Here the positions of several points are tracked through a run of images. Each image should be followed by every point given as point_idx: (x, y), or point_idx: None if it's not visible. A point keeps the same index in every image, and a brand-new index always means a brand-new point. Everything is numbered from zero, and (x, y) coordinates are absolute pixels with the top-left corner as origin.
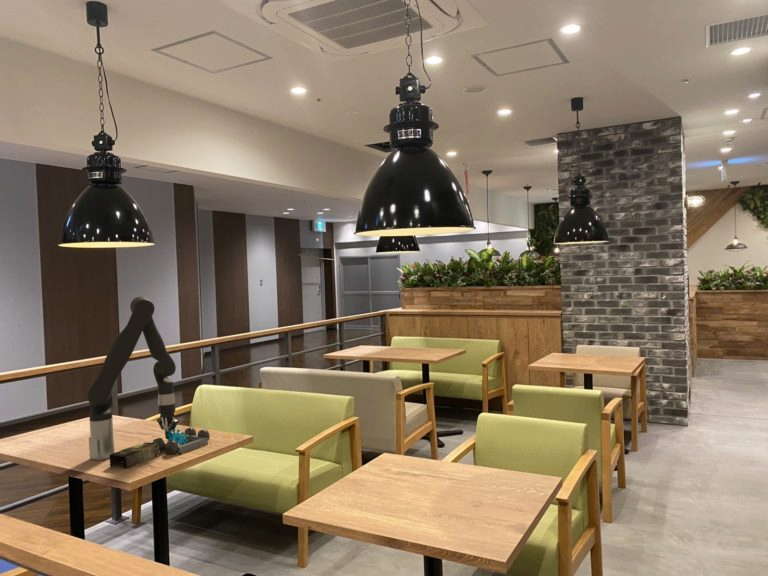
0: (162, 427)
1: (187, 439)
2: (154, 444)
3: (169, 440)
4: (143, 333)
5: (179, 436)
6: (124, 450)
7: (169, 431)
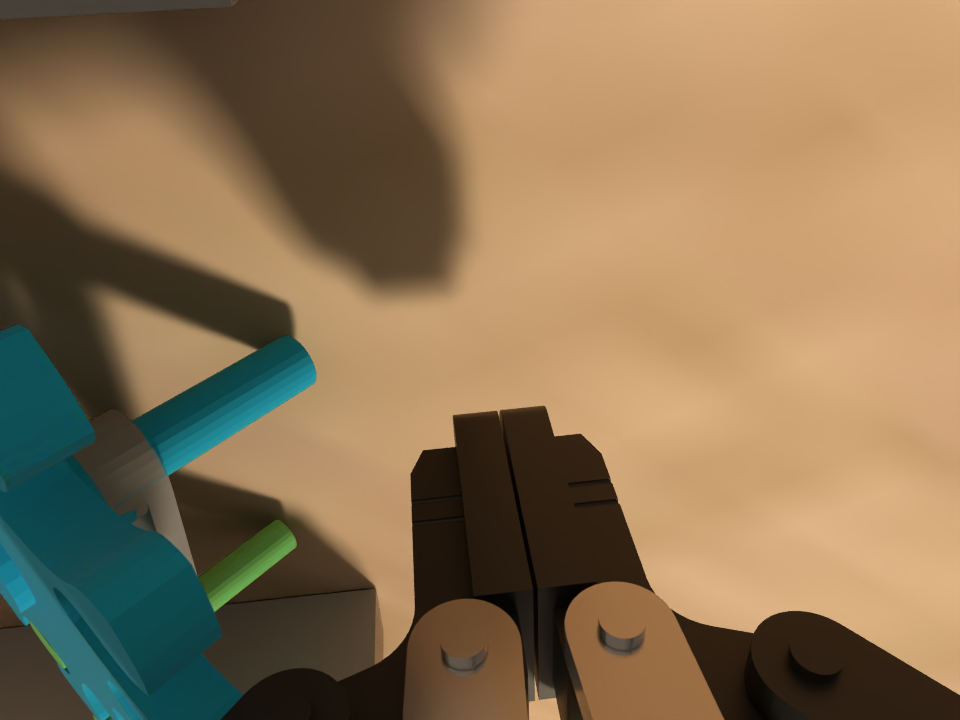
0: (810, 706)
1: (235, 646)
2: None
3: None
4: None
5: (12, 606)
6: None
7: (100, 616)
